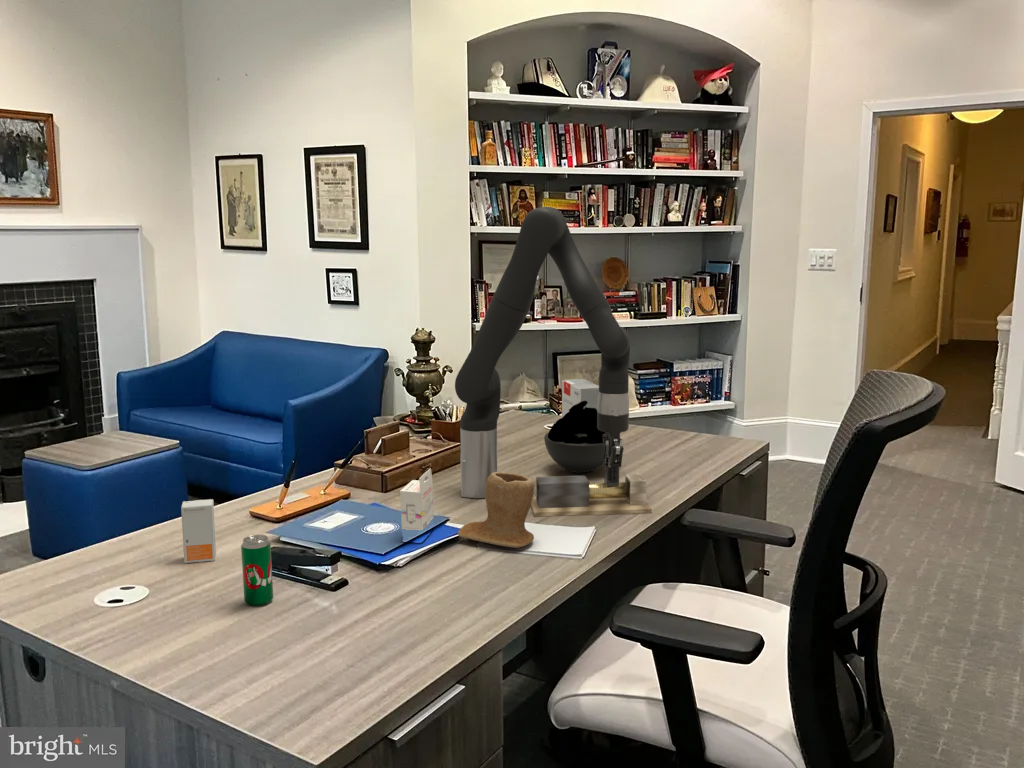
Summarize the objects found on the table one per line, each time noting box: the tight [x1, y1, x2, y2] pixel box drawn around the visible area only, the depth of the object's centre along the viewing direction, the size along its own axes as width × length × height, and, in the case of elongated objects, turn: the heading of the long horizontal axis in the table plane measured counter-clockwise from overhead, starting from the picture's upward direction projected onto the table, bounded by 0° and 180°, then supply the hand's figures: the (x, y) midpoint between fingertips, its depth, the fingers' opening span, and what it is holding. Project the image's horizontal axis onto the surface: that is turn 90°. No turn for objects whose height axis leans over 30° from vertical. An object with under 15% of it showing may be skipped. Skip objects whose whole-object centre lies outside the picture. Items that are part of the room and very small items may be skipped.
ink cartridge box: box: [399, 467, 434, 531], centre depth 187 cm, size 9×5×15 cm, turn 168°
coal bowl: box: [544, 401, 605, 474], centre depth 238 cm, size 20×20×19 cm
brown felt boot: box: [457, 471, 535, 548], centre depth 185 cm, size 15×12×15 cm
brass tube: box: [589, 463, 630, 499], centre depth 208 cm, size 17×4×8 cm, turn 95°
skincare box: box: [180, 498, 217, 564], centre depth 175 cm, size 6×4×12 cm
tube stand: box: [530, 473, 652, 518], centre depth 208 cm, size 28×12×7 cm, turn 95°
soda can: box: [240, 534, 274, 607], centre depth 155 cm, size 5×5×12 cm
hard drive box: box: [561, 378, 599, 418], centre depth 266 cm, size 16×8×20 cm, turn 17°
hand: (611, 479), depth 208 cm, fingers closed on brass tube, 3 cm apart
